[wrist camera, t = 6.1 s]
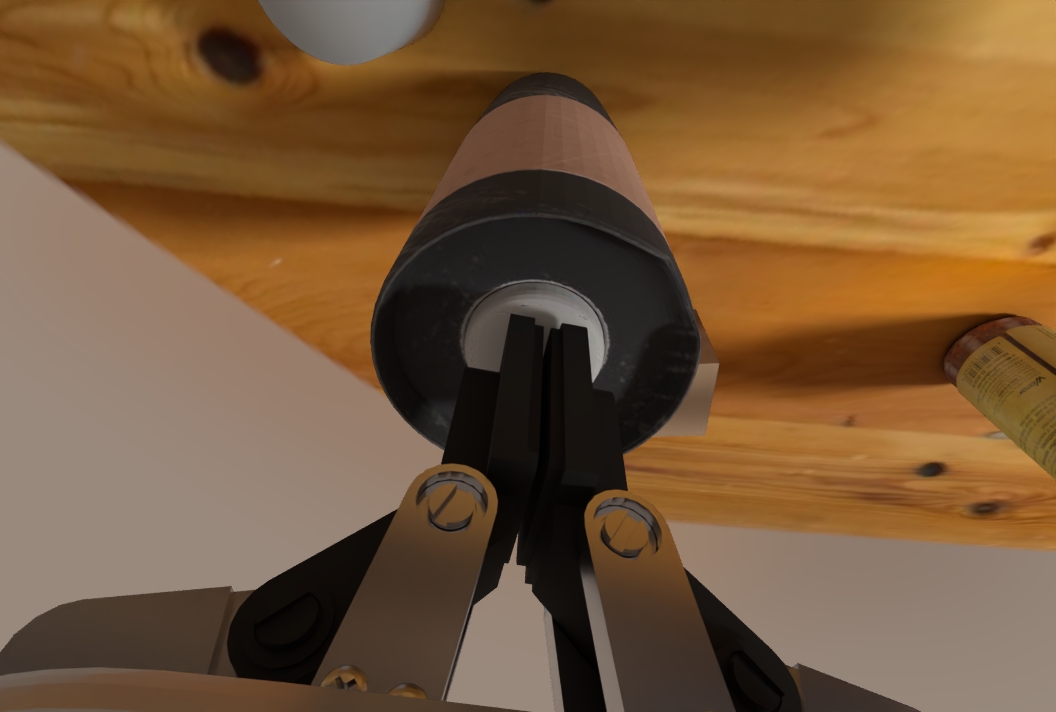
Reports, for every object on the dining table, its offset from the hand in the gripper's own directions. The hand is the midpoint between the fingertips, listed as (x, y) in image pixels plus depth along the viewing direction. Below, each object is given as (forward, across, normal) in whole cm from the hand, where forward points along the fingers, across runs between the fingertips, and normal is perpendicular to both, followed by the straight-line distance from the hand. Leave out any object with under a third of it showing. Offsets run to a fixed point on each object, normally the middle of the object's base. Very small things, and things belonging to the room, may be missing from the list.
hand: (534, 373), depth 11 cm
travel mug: (+20, 0, 0) cm, 20 cm away
